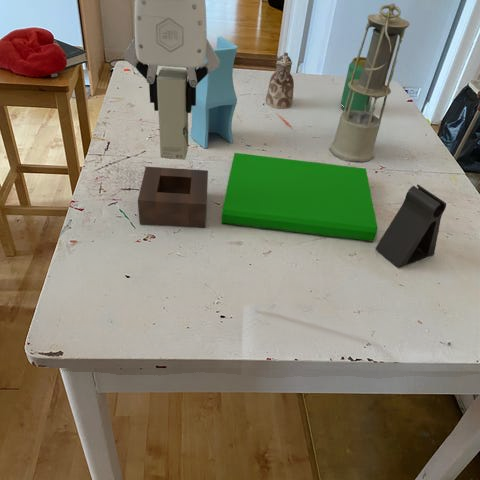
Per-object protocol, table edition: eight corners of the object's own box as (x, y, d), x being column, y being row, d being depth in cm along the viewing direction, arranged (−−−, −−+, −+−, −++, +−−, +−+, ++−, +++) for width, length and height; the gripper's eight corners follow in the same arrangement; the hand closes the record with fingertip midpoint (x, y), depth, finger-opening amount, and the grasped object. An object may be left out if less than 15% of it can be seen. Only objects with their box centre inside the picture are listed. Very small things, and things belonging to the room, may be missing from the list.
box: (185, 161, 80) (185, 80, 70) (159, 159, 79) (155, 78, 70) (188, 146, 83) (188, 68, 74) (163, 144, 83) (160, 65, 74)
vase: (216, 128, 114) (220, 36, 100) (233, 142, 110) (240, 47, 96) (187, 134, 111) (187, 39, 97) (204, 148, 107) (207, 51, 92)
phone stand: (410, 237, 89) (434, 179, 80) (433, 255, 85) (461, 197, 77) (374, 249, 85) (395, 190, 77) (397, 268, 82) (422, 209, 73)
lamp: (375, 147, 114) (419, 2, 93) (369, 171, 106) (416, 17, 84) (333, 138, 116) (367, -7, 94) (324, 161, 107) (358, 7, 86)
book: (233, 165, 102) (234, 152, 100) (362, 181, 102) (365, 168, 100) (221, 224, 87) (222, 210, 84) (373, 243, 87) (378, 229, 84)
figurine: (262, 105, 127) (268, 56, 118) (269, 96, 131) (275, 48, 123) (288, 110, 125) (296, 61, 117) (294, 101, 130) (301, 53, 122)
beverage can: (366, 117, 127) (379, 69, 118) (337, 111, 128) (348, 63, 119) (370, 106, 132) (383, 60, 123) (342, 100, 133) (352, 54, 125)
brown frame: (139, 224, 85) (137, 200, 81) (147, 189, 93) (145, 166, 89) (205, 228, 86) (206, 204, 82) (207, 193, 94) (208, 170, 90)
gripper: (100, -31, 60) (116, 114, 73) (233, -19, 61) (225, 122, 74) (110, -42, 65) (123, 95, 78) (233, -31, 66) (225, 102, 79)
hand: (173, 107), depth 76 cm, fingers closed on box, 4 cm apart
